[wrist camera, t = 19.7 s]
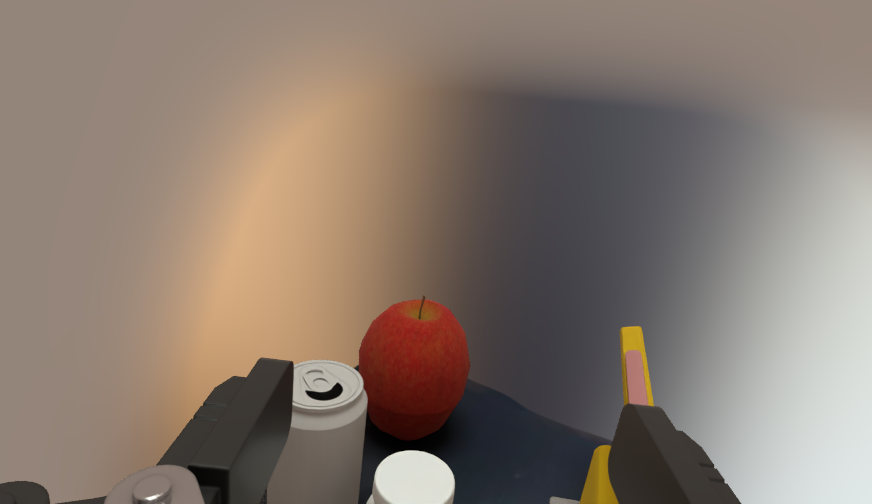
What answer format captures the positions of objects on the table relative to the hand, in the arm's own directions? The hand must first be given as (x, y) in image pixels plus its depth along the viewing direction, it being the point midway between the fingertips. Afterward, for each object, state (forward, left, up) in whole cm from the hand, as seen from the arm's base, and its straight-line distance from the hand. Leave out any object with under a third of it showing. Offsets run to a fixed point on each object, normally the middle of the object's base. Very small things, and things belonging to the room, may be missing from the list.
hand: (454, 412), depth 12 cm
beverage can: (0, +19, -24) cm, 31 cm away
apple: (+9, +28, -24) cm, 38 cm away
